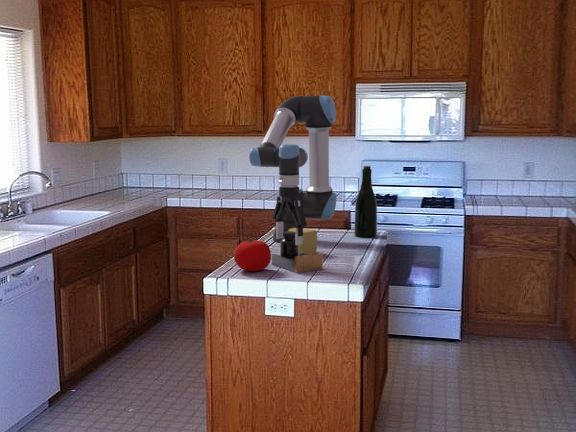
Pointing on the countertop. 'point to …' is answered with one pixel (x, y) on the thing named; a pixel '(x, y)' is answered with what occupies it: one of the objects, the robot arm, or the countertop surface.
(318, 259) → the guide channel
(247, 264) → the tomato
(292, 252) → the supplement bottle
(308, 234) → the cheese
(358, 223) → the dark green wine bottle
